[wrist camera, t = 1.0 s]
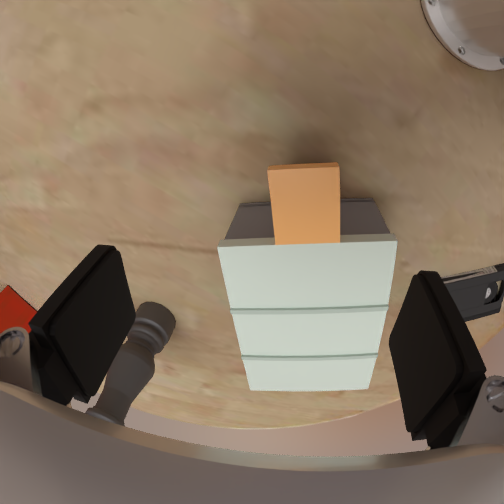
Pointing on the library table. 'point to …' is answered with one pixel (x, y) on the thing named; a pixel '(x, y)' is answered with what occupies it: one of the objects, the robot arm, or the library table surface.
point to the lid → (308, 289)
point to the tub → (351, 219)
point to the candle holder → (134, 362)
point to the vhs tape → (476, 291)
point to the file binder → (14, 311)
